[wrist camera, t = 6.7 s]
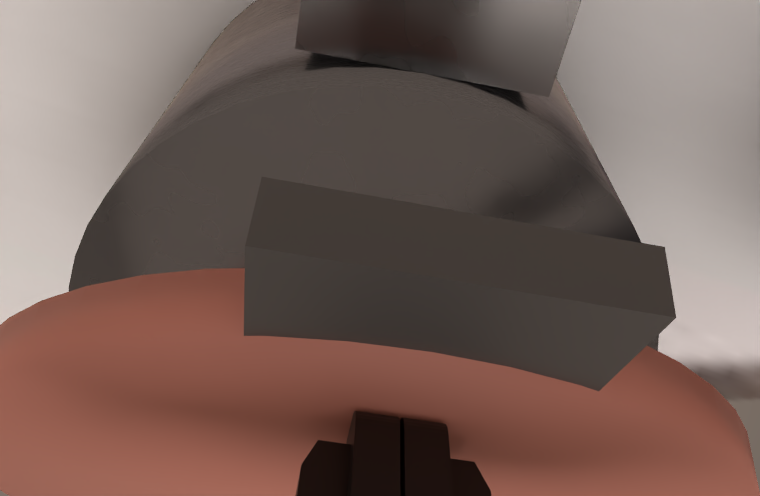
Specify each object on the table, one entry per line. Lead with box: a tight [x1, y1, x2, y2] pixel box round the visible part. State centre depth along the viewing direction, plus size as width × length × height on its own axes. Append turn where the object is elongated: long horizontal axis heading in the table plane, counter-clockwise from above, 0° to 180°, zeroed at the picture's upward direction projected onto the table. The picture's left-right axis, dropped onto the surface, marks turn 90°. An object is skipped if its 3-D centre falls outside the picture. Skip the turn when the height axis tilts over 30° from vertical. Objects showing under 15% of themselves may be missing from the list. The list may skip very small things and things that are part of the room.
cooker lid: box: [0, 177, 760, 496], centre depth 16 cm, size 20×17×1 cm
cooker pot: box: [69, 0, 659, 350], centre depth 24 cm, size 21×16×12 cm
